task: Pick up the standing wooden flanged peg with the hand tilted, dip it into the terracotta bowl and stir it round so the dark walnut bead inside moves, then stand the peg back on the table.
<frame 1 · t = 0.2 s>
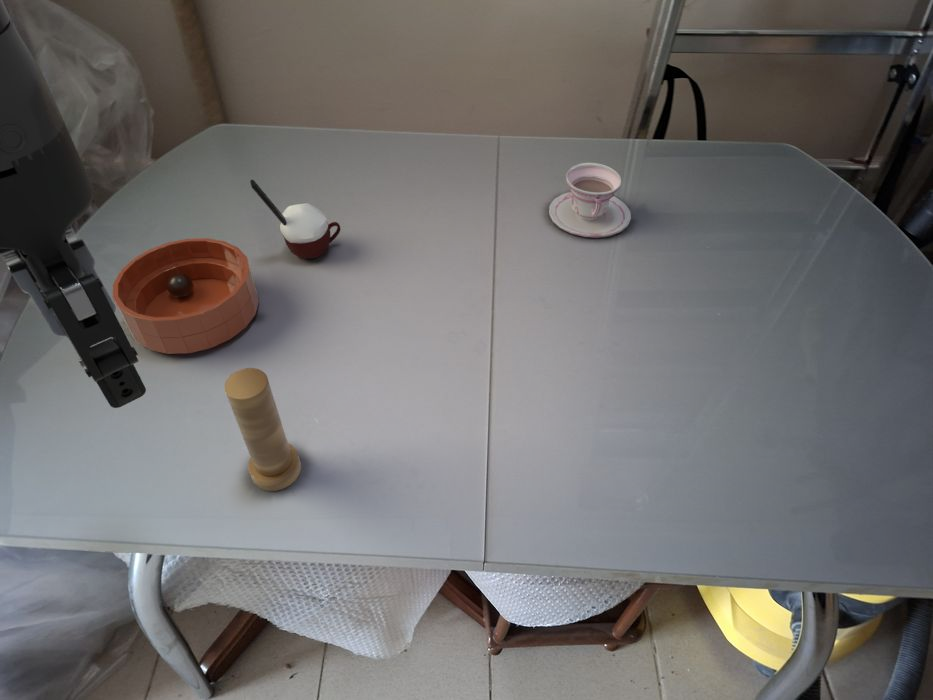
hand: (104, 362, 43), 23 cm above the table, tool pointing down, fingers open, 8 cm apart
bead: (180, 285, 81), point 2 cm above the table, touching bowl
bowl: (196, 314, 81), on the table
teacup: (589, 216, 97), on the table
cocoa: (307, 252, 90), on the table
wooden flanged peg: (276, 470, 65), on the table
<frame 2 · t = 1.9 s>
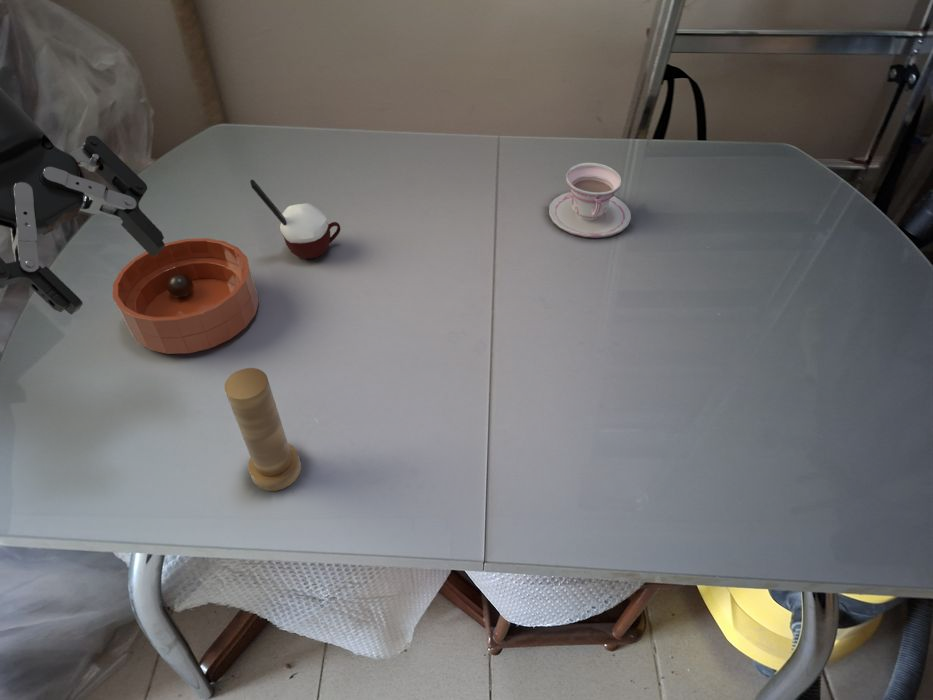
hand: (120, 278, 54), 20 cm above the table, tool tilted 45°, fingers open, 8 cm apart
nothing on the table moved.
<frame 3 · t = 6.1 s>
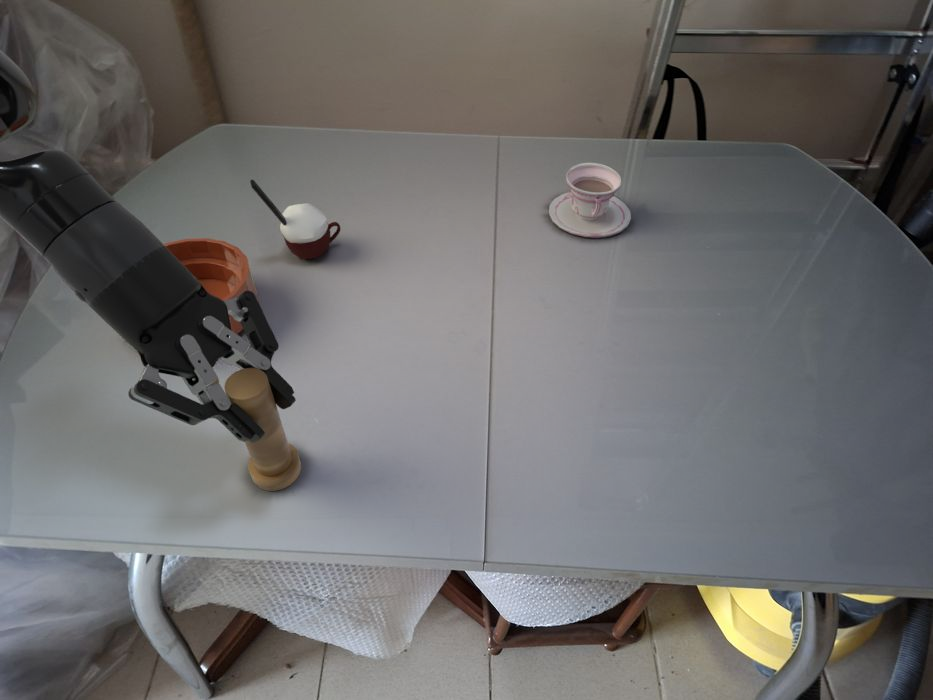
hand: (274, 420, 58), 9 cm above the table, tool tilted 45°, fingers closed on wooden flanged peg, 3 cm apart
wooden flanged peg: (276, 470, 65), on the table, touching gripper
everything else where it was.
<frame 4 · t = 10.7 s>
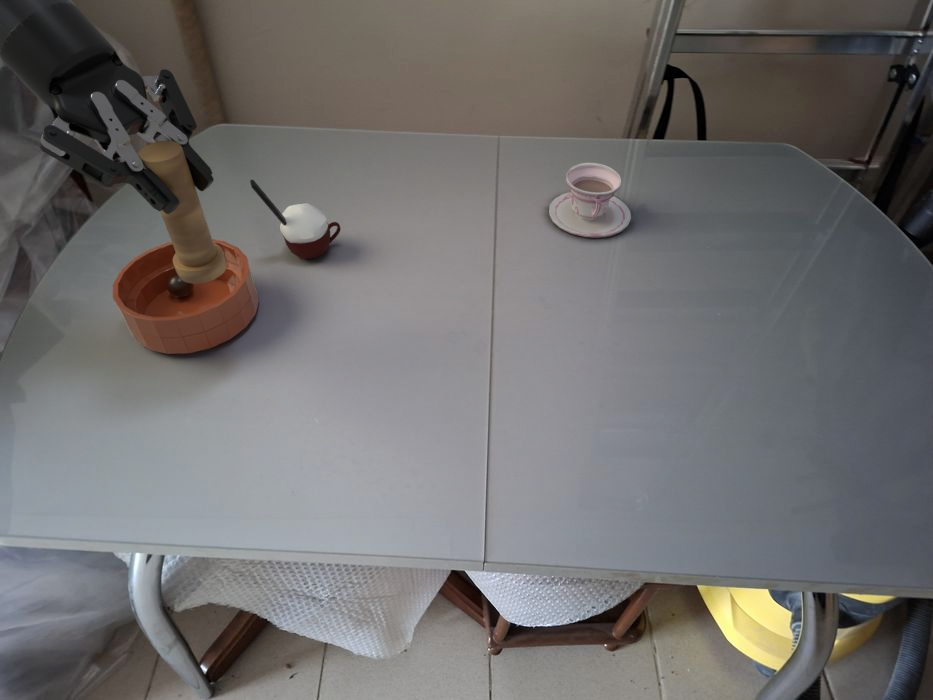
hand: (191, 196, 59), 22 cm above the table, tool tilted 45°, fingers closed on wooden flanged peg, 3 cm apart
wooden flanged peg: (202, 268, 66), point 13 cm above the table, touching gripper
everything else where it was.
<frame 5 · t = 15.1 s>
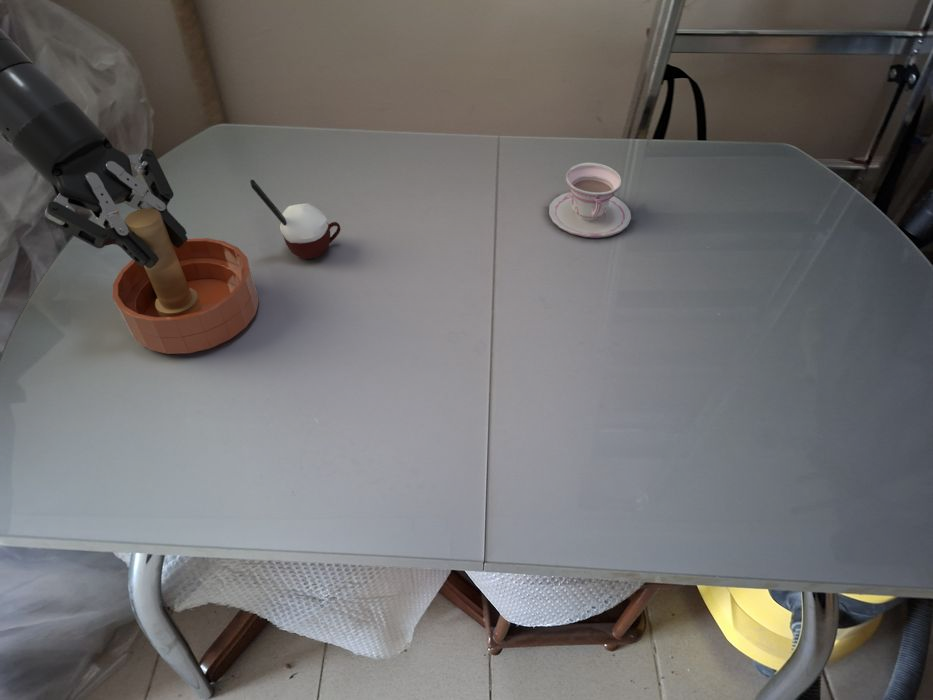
hand: (168, 253, 72), 11 cm above the table, tool tilted 45°, fingers closed on wooden flanged peg, 3 cm apart
bead: (165, 288, 81), point 2 cm above the table, tilted 66°, touching bowl
wooden flanged peg: (180, 309, 79), point 2 cm above the table, touching gripper
everything else where it was.
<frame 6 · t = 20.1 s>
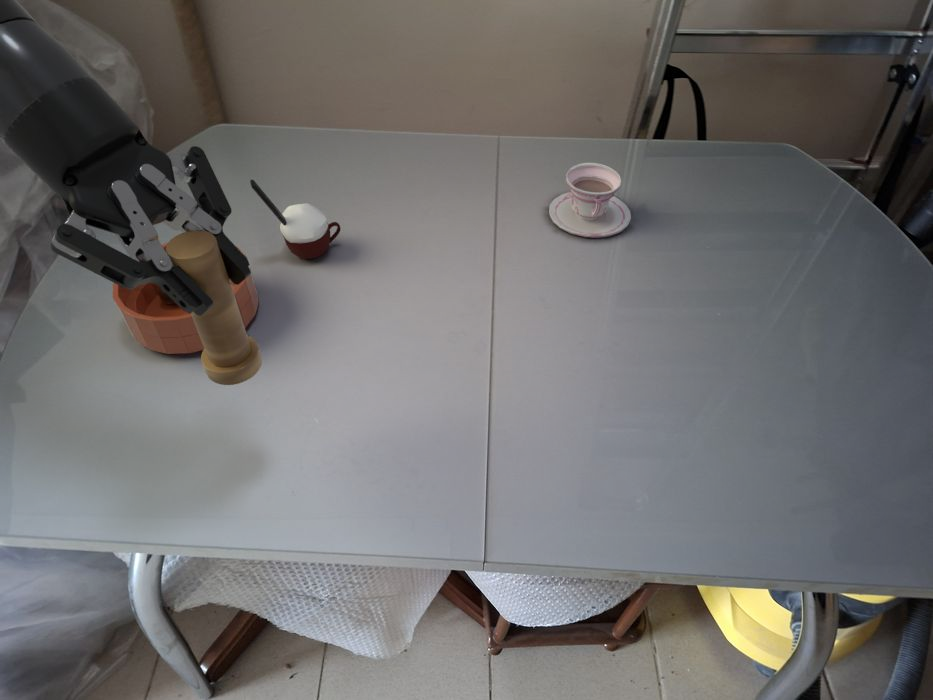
hand: (225, 293, 51), 22 cm above the table, tool tilted 45°, fingers closed on wooden flanged peg, 3 cm apart
bead: (171, 292, 81), point 2 cm above the table, tilted 46°, touching bowl
wooden flanged peg: (234, 365, 58), point 13 cm above the table, touching gripper
everything else where it was.
when the fingers open (9 cm above the table, at t = 24.2 s): wooden flanged peg stays where it is, on the table.
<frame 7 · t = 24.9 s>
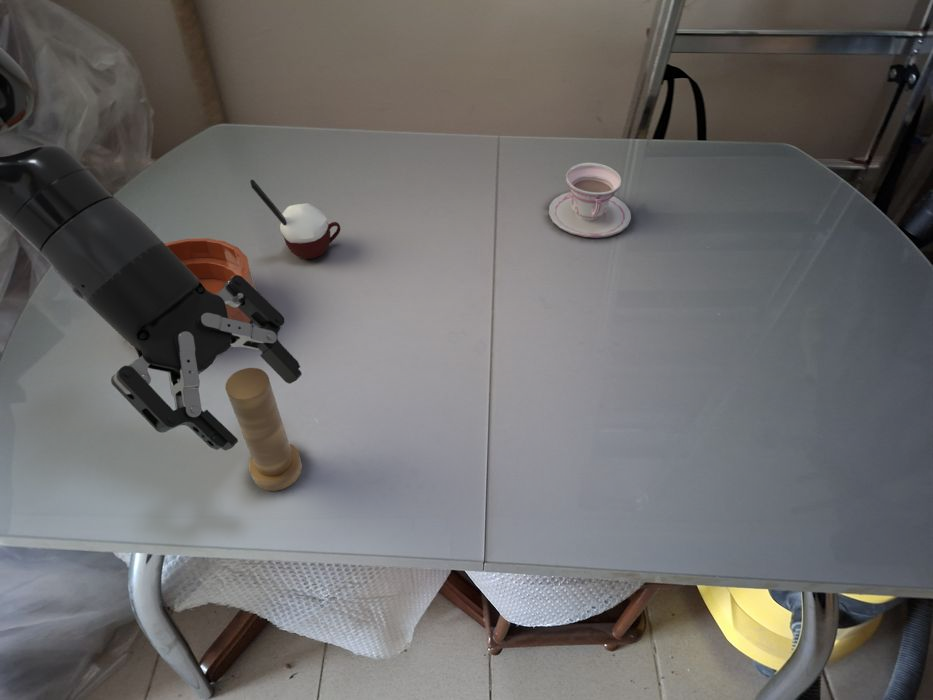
hand: (265, 411, 57), 10 cm above the table, tool tilted 45°, fingers open, 8 cm apart
bead: (177, 295, 80), point 2 cm above the table, tilted 55°, touching bowl
wooden flanged peg: (277, 470, 65), on the table
everything else where it was.
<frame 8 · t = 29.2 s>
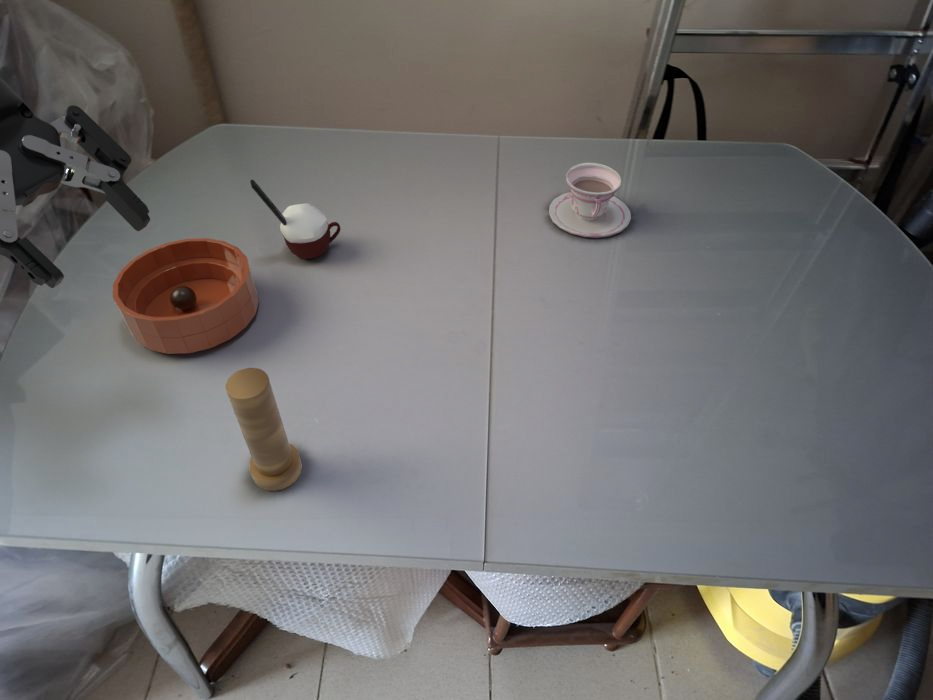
hand: (104, 252, 53), 23 cm above the table, tool tilted 45°, fingers open, 8 cm apart
bead: (183, 298, 80), point 2 cm above the table, tilted 79°, touching bowl
everything else where it was.
at the end: bead moved 2.7 cm from its start; bead inside the target area in the bowl (1.1 cm from its centre), point 2.3 cm above the bowl's base; wooden flanged peg tilted 0° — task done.
